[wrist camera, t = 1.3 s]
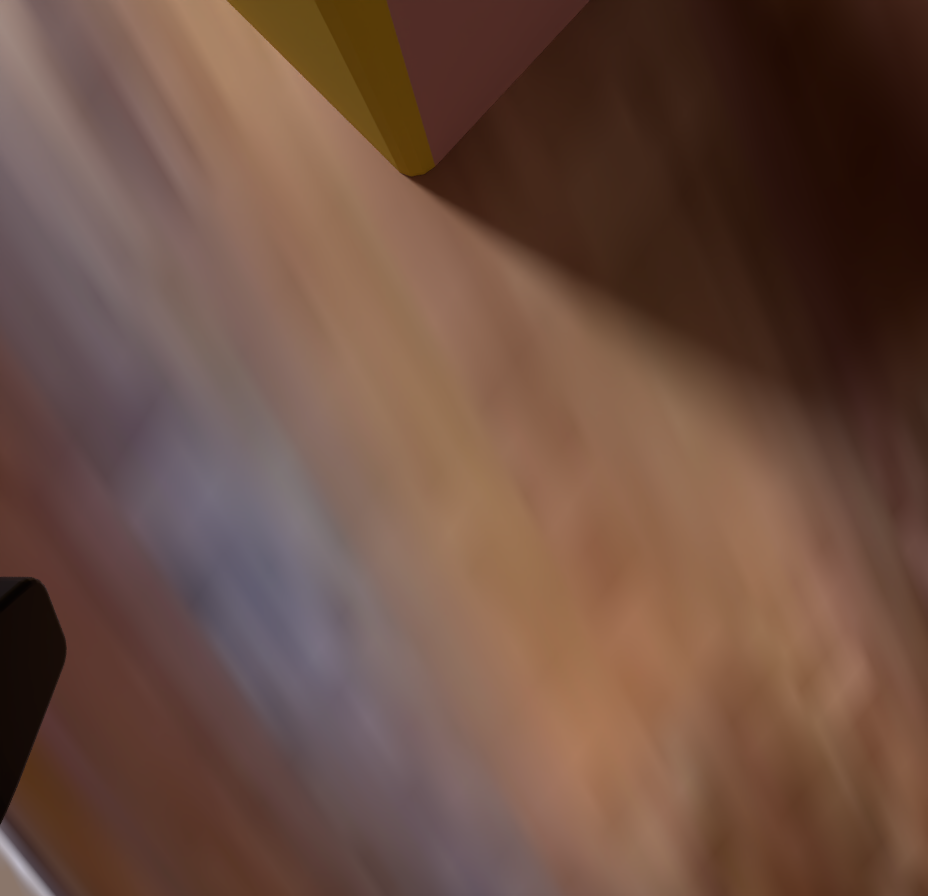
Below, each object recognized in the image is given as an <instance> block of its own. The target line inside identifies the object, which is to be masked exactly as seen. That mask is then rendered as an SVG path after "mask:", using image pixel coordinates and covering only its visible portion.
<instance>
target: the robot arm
mask: <svg viewBox="0 0 928 896" xmlns="http://www.w3.org/2000/svg"><path fill="white" fill-rule="evenodd" d="M66 649H67V647H66V640H65V636H64V633H63V631H62V628H61V626H60V623H59V620H58V618H57V615H56V613H55V610H54V607H53V605H52V602H51V600H50V597H49V594H48V592H47V589H46V587H45V585H44V584H43V583H42V582H41V581H39V580H38V579H35V578H32V577H0V824H1V822H2V820H3V818H4V816H5V814H6V812H7V809H8V807H9V805H10V802H11V800H12V798H13V795H14V793H15V791H16V788H17V786H18V783H19V781H20V778H21V776H22V773H23V770H24V768H25V765H26V763H27V760H28V757H29V755H30V752H31V750H32V747H33V744H34V742H35V739H36V737H37V734H38V731H39V729H40V726H41V724H42V721H43V718H44V716H45V713H46V711H47V708H48V705H49V703H50V700H51V698H52V695H53V692H54V690H55V687H56V685H57V682H58V679H59V677H60V674H61V672H62V669H63V666H64V663H65V658H66Z"/></svg>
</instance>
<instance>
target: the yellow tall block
mask: <svg viewBox="0 0 928 896" xmlns="http://www.w3.org/2000/svg"><path fill="white" fill-rule="evenodd" d="M227 1H228V2H229V3H230V4H231V5H232V6H233V7H234V8H235V9H236V10H237V11H238V12H239V13H240V14H241V15H242V16H243V17H244V18H245V19H246V20H247V21H248V22H249V23H250V24H251V25H252V26H253V27H254V28H255V29H256V30H257V31H258V32H259V33H260V34H261V35H262V36H263V37H264V38H265V39H266V40H267V41H268V42H269V43H270V44H271V45H272V46H273V47H274V48H275V49H276V50H277V51H278V52H279V53H280V54H281V55H282V56H283V57H284V58H285V59H286V60H287V61H288V62H289V63H290V64H291V65H292V66H293V67H294V68H295V69H296V70H297V71H298V72H299V73H300V74H301V75H302V76H303V77H304V78H305V79H306V80H307V81H308V82H309V83H310V84H311V85H312V86H313V87H314V88H315V89H317V90H318V91H319V92H320V93H321V94H322V95H323V96H324V97H325V98H326V99H327V100H328V101H329V102H330V103H331V104H332V105H333V106H334V107H335V108H336V109H337V110H338V111H339V112H340V113H341V114H342V115H343V116H344V117H345V118H346V119H347V120H348V121H349V122H350V123H351V124H352V125H353V126H354V127H355V128H356V129H357V130H358V131H359V132H360V133H361V134H362V135H363V136H364V137H365V138H366V139H367V140H368V141H369V142H370V143H371V144H372V145H373V146H374V147H375V148H376V149H377V150H378V151H379V152H380V153H381V154H382V155H383V156H384V157H385V158H386V159H387V160H388V161H389V162H390V163H391V164H392V165H393V166H394V167H395V168H396V169H397V170H398V171H399V172H400V173H403V174H405V175H408V176H417V175H422V174H425V173H427V172H428V171H430V170H431V169H432V168H434V167H435V166H436V165H437V164H438V163H439V162H440V161H441V160H442V159H443V158H444V157H445V156H446V154H447V153H448V152H449V151H450V150H451V149H452V148H453V147H454V146H455V145H456V144H457V143H458V142H459V140H460V139H461V138H462V137H463V136H464V135H465V134H466V133H467V132H468V131H469V130H470V129H471V128H472V127H473V125H474V124H475V123H476V122H477V121H478V120H479V119H480V118H481V117H482V116H483V115H484V114H485V113H486V111H487V110H488V109H489V108H490V107H491V106H492V105H493V104H494V103H495V102H496V101H497V100H498V99H499V97H500V96H501V95H502V94H503V93H504V92H505V91H506V90H507V89H508V88H509V87H510V86H511V85H512V84H513V82H514V81H515V80H516V79H517V78H518V77H519V76H520V75H521V74H522V73H523V72H524V71H525V70H526V68H527V67H528V66H529V65H530V64H531V63H532V62H533V61H534V60H535V59H536V58H537V57H538V56H539V55H540V53H541V52H542V51H543V50H544V49H545V48H546V47H547V46H548V45H549V44H550V43H551V42H552V41H553V39H554V38H555V37H556V36H557V35H558V34H559V33H560V32H561V31H562V30H563V29H564V28H565V27H566V26H567V24H568V23H569V22H570V21H571V20H572V19H573V18H574V17H575V16H576V15H577V14H578V13H579V12H580V10H581V9H582V8H583V7H584V6H585V5H586V4H587V3H588V2H589V1H590V0H227Z"/></svg>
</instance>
